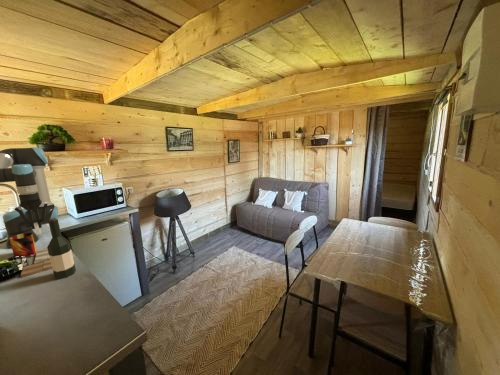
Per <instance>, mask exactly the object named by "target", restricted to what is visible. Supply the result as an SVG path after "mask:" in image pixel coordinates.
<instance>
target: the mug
mask: <svg viewBox="0 0 500 375" xmlns="http://www.w3.org/2000/svg"><path fill="white" fill-rule="evenodd" d="M9 240H10V243H11V247H12V248H11V250H12V254H13V257H14V256H19V257H21V256H26V257H25V258H27V257H30V256H32V255H33V256H36V254H37V251H38V250H37V246H36V242H34V238H33V234H32V233H23V234H19V235H15V236H13V237H11V238H9Z"/></svg>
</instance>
